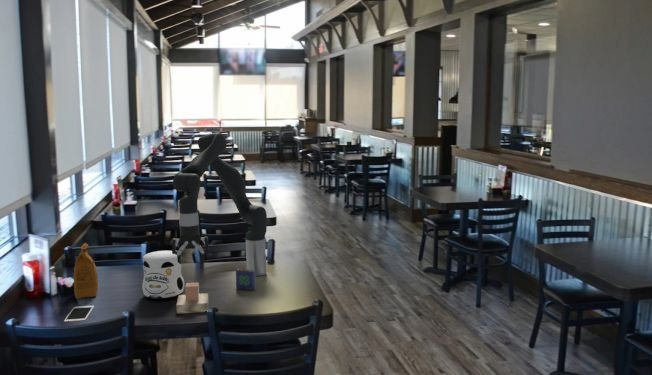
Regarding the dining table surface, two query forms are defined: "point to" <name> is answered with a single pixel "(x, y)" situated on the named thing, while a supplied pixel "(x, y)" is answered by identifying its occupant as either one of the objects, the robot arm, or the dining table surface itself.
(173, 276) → the milk container
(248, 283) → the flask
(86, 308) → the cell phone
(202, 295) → the maple base
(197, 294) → the terracotta block
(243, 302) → the dining table surface
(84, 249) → the coffee package
